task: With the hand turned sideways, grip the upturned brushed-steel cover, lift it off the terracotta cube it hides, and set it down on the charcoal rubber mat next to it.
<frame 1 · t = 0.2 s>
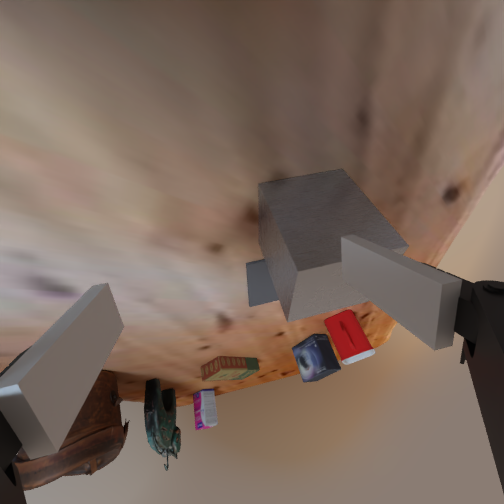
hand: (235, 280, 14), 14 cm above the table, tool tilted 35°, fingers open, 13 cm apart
mug: (337, 315, 67), on the table
small box: (308, 340, 78), on the table
supplement box: (203, 390, 94), on the table
charcoal mat: (296, 275, 44), on the table
ceramic cat: (160, 385, 75), on the table
carton: (229, 360, 74), on the table
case: (86, 378, 57), on the table
steel cover: (296, 209, 32), on the table
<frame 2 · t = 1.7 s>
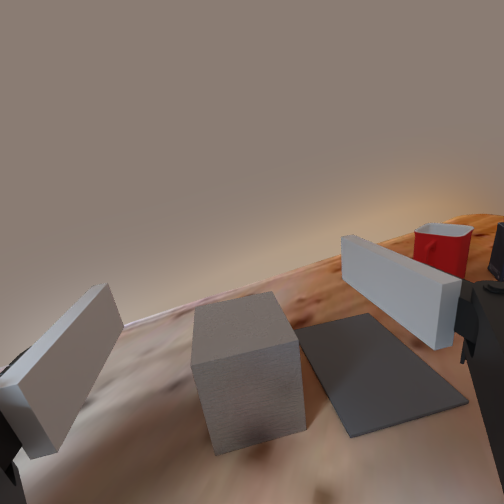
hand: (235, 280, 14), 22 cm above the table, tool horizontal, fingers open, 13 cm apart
mug: (433, 280, 52), on the table
charcoal mat: (361, 360, 35), on the table
steel cover: (253, 401, 31), on the table
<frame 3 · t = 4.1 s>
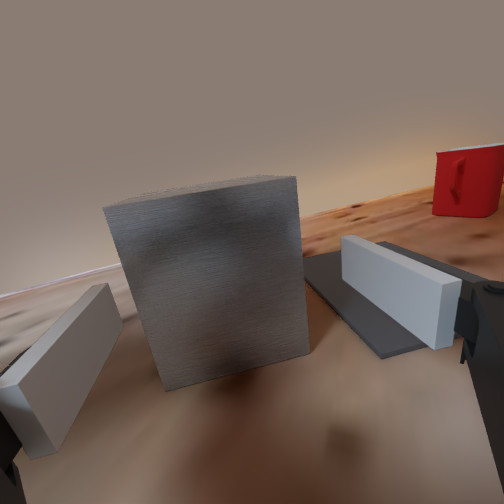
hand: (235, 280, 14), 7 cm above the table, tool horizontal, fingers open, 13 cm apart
mug: (459, 215, 43), on the table
charcoal mat: (383, 280, 25), on the table
steel cover: (232, 328, 21), on the table
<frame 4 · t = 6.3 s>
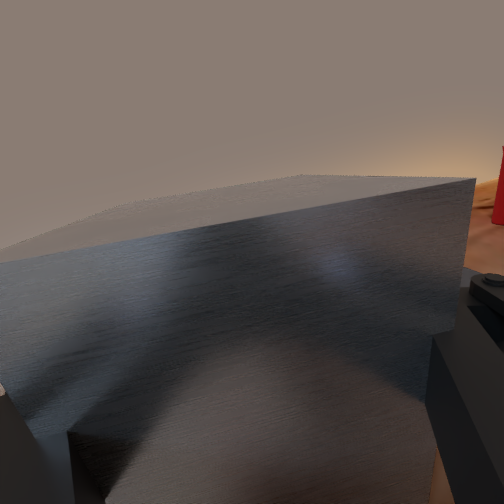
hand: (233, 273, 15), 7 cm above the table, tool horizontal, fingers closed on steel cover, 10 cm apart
steel cover: (263, 423, 13), on the table, touching gripper
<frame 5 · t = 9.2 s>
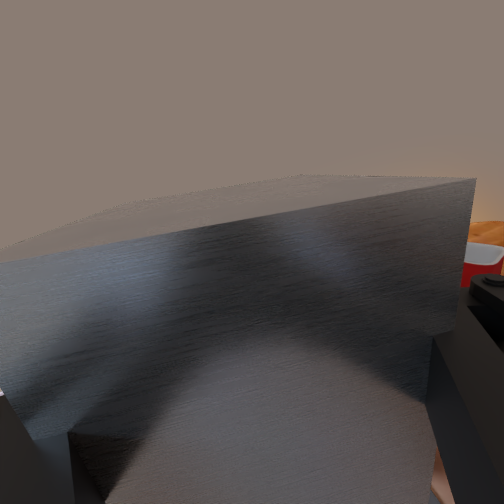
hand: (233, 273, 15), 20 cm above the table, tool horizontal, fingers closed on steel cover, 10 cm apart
mug: (447, 322, 37), on the table
steel cover: (263, 424, 13), point 13 cm above the table, touching gripper
when the fingers open (9 cm above the table, at t = 12.2 s): steel cover drops 2 cm, resting on charcoal mat.
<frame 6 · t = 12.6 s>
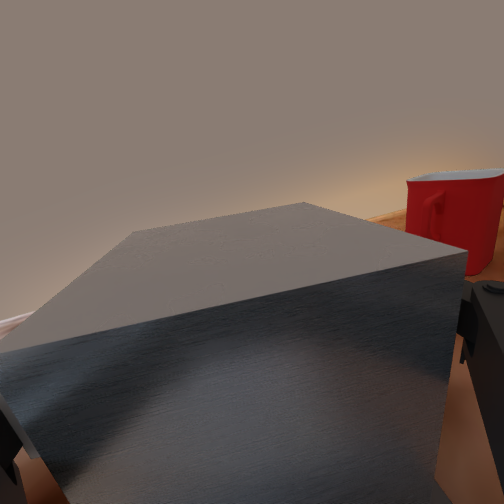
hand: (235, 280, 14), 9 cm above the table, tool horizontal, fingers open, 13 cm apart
mug: (439, 266, 31), on the table
steel cover: (267, 446, 14), resting on charcoal mat
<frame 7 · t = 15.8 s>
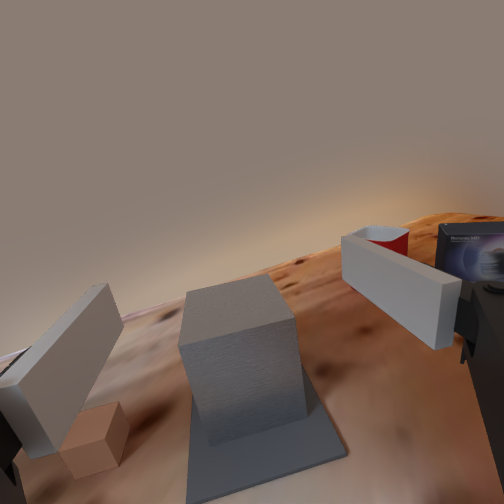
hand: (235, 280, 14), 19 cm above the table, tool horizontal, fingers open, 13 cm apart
mug: (372, 290, 47), on the table
small box: (473, 286, 43), on the table
charcoal mat: (251, 392, 29), on the table
terracotta cube: (98, 438, 25), on the table
steel cover: (251, 390, 29), resting on charcoal mat
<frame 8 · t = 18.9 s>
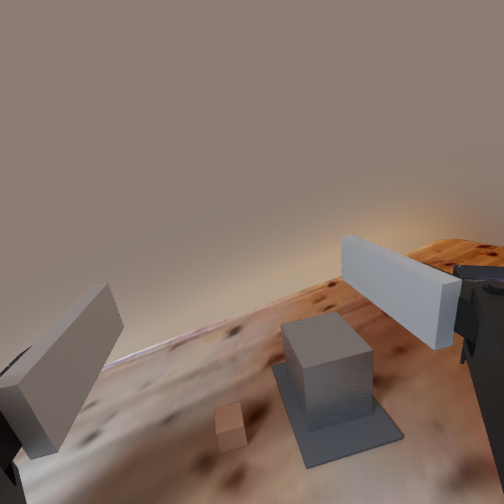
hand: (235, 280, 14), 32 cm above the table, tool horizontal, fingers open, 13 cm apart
small box: (480, 314, 55), on the table
charcoal mat: (325, 396, 41), on the table
terracotta cube: (230, 426, 37), on the table
steel cover: (325, 395, 41), resting on charcoal mat
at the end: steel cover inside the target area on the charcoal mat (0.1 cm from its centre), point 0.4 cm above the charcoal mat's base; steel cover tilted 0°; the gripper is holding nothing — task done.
